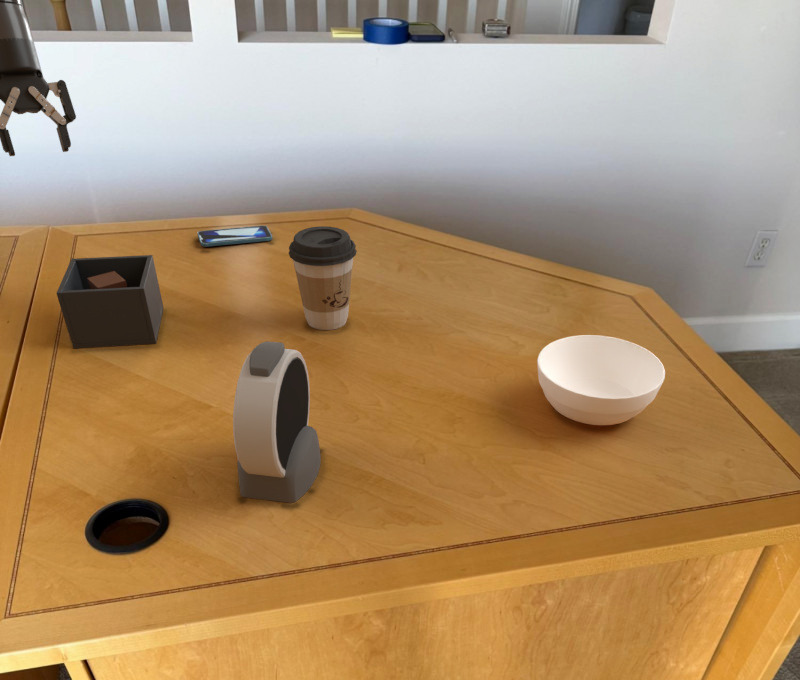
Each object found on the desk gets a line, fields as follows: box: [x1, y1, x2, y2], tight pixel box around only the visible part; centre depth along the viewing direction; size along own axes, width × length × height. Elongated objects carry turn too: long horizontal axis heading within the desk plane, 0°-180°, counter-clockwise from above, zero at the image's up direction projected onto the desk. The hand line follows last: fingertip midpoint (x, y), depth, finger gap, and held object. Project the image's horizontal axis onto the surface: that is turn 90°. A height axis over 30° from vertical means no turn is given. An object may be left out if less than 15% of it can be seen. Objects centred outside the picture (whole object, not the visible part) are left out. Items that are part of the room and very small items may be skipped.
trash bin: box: [55, 254, 164, 350], centre depth 132 cm, size 14×14×10 cm
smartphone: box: [197, 225, 273, 247], centre depth 164 cm, size 7×1×15 cm
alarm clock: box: [232, 340, 322, 504], centre depth 98 cm, size 16×10×18 cm, turn 170°
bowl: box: [536, 334, 666, 426], centre depth 114 cm, size 18×18×7 cm
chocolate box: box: [87, 271, 127, 289], centre depth 132 cm, size 5×5×8 cm
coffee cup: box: [288, 225, 358, 331], centre depth 132 cm, size 11×11×15 cm
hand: (39, 153), depth 130 cm, fingers open, 8 cm apart
